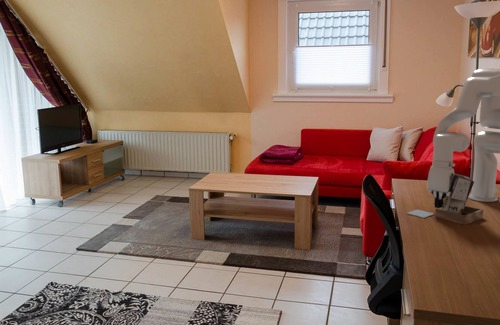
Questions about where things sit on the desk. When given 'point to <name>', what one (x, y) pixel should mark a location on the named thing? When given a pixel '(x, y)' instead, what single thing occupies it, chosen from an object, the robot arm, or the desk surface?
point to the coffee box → (458, 194)
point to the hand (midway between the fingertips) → (438, 207)
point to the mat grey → (420, 213)
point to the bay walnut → (470, 216)
